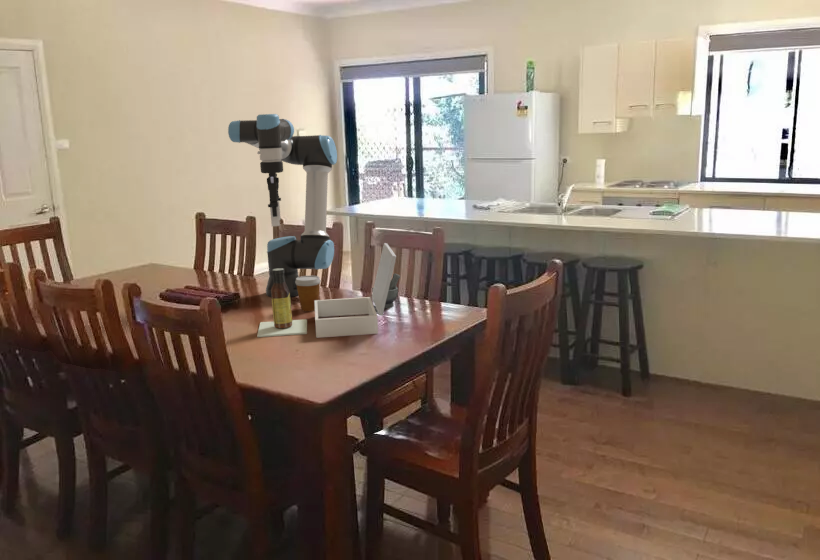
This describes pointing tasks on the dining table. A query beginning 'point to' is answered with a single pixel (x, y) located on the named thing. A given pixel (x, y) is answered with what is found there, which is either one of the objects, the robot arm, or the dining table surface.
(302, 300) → the disposable coffee cup
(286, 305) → the sauce bottle
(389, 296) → the mortar and pestle
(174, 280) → the dining table surface
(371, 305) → the case
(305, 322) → the mat
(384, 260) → the case lid
